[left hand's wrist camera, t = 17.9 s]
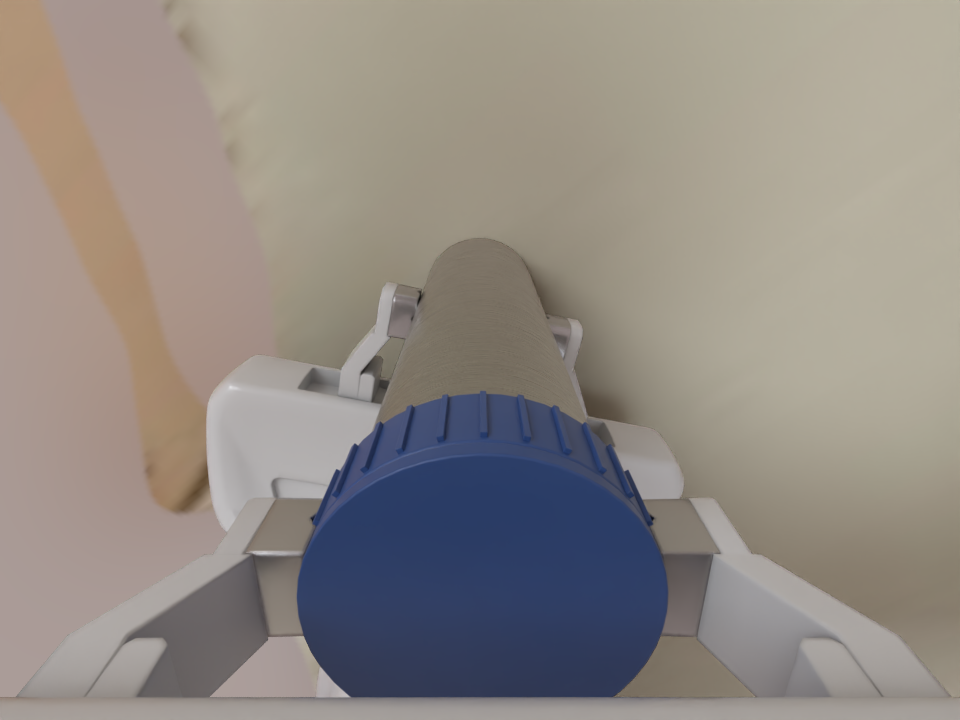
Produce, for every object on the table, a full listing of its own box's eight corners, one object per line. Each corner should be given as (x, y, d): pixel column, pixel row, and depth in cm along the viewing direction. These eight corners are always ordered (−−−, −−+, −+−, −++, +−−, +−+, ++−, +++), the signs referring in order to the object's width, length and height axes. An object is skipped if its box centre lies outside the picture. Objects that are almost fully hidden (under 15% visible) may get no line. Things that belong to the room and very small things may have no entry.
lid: (605, 656, 12) (629, 753, 10) (322, 633, 12) (292, 730, 10) (672, 406, 10) (720, 472, 8) (325, 371, 9) (287, 429, 7)
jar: (427, 339, 28) (337, 694, 10) (425, 237, 26) (311, 449, 8) (529, 341, 28) (620, 697, 10) (535, 238, 27) (659, 454, 8)
